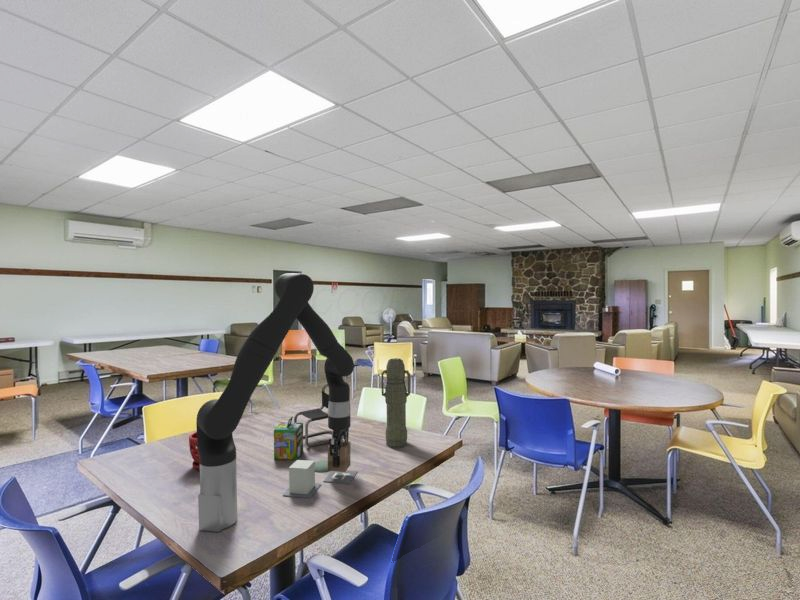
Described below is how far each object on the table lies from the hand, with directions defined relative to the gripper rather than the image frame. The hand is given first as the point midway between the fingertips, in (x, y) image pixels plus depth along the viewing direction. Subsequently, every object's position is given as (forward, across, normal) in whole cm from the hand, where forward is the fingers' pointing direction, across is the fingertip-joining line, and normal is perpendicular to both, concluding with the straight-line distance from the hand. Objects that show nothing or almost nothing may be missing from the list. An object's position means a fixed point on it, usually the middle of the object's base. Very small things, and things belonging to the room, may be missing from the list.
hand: (339, 462), depth 141 cm
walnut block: (+2, 0, 0) cm, 2 cm away
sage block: (+5, -11, +9) cm, 15 cm away
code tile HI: (+5, -11, +9) cm, 15 cm away
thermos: (+5, +33, -14) cm, 36 cm away
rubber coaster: (+5, +7, +9) cm, 12 cm away
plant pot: (+6, +2, +51) cm, 51 cm away
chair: (+5, +33, +20) cm, 39 cm away
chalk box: (+5, +15, +26) cm, 30 cm away
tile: (+5, 0, 0) cm, 5 cm away
